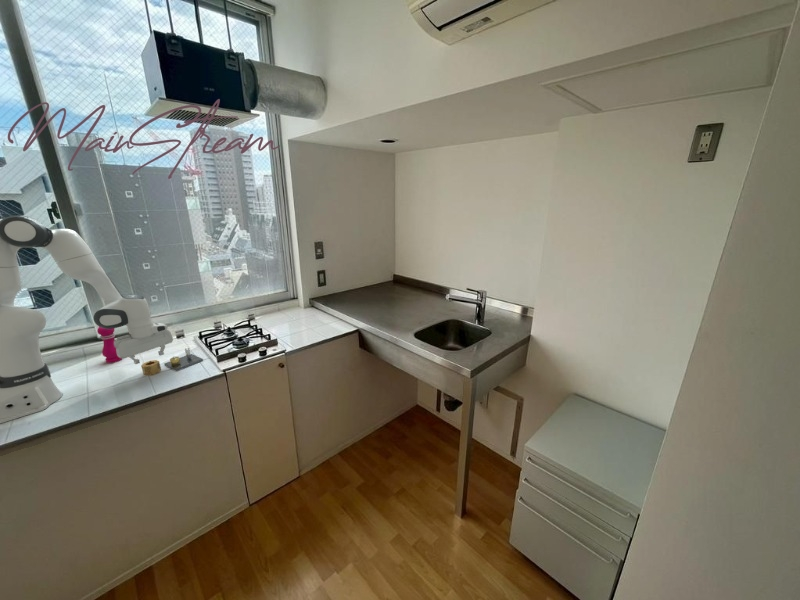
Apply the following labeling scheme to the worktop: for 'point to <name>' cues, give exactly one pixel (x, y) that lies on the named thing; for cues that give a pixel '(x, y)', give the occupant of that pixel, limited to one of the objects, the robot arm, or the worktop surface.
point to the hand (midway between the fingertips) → (149, 358)
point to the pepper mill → (108, 345)
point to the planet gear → (151, 367)
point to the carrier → (183, 361)
